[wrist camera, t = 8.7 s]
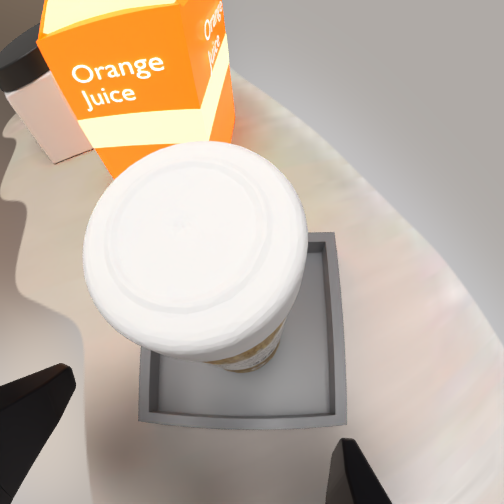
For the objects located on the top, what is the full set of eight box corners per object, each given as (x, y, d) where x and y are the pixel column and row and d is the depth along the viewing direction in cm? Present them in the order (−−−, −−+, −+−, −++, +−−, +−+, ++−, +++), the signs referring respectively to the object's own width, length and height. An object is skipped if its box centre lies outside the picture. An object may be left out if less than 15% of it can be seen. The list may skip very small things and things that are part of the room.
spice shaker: (250, 283, 19) (222, 104, 7) (296, 344, 18) (365, 248, 5) (187, 325, 18) (51, 209, 6) (230, 390, 17) (138, 406, 4)
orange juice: (124, 198, 23) (-4, -39, 5) (153, 119, 26) (89, -80, 8) (223, 200, 22) (162, -112, 4) (237, 116, 26) (213, -111, 8)
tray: (337, 420, 16) (346, 424, 14) (151, 418, 17) (138, 421, 15) (328, 247, 21) (334, 232, 19) (162, 250, 21) (152, 235, 19)
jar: (129, 123, 27) (85, 17, 16) (60, 177, 24) (-9, 83, 14) (95, 93, 29) (57, 9, 18) (37, 137, 27) (-14, 59, 16)
